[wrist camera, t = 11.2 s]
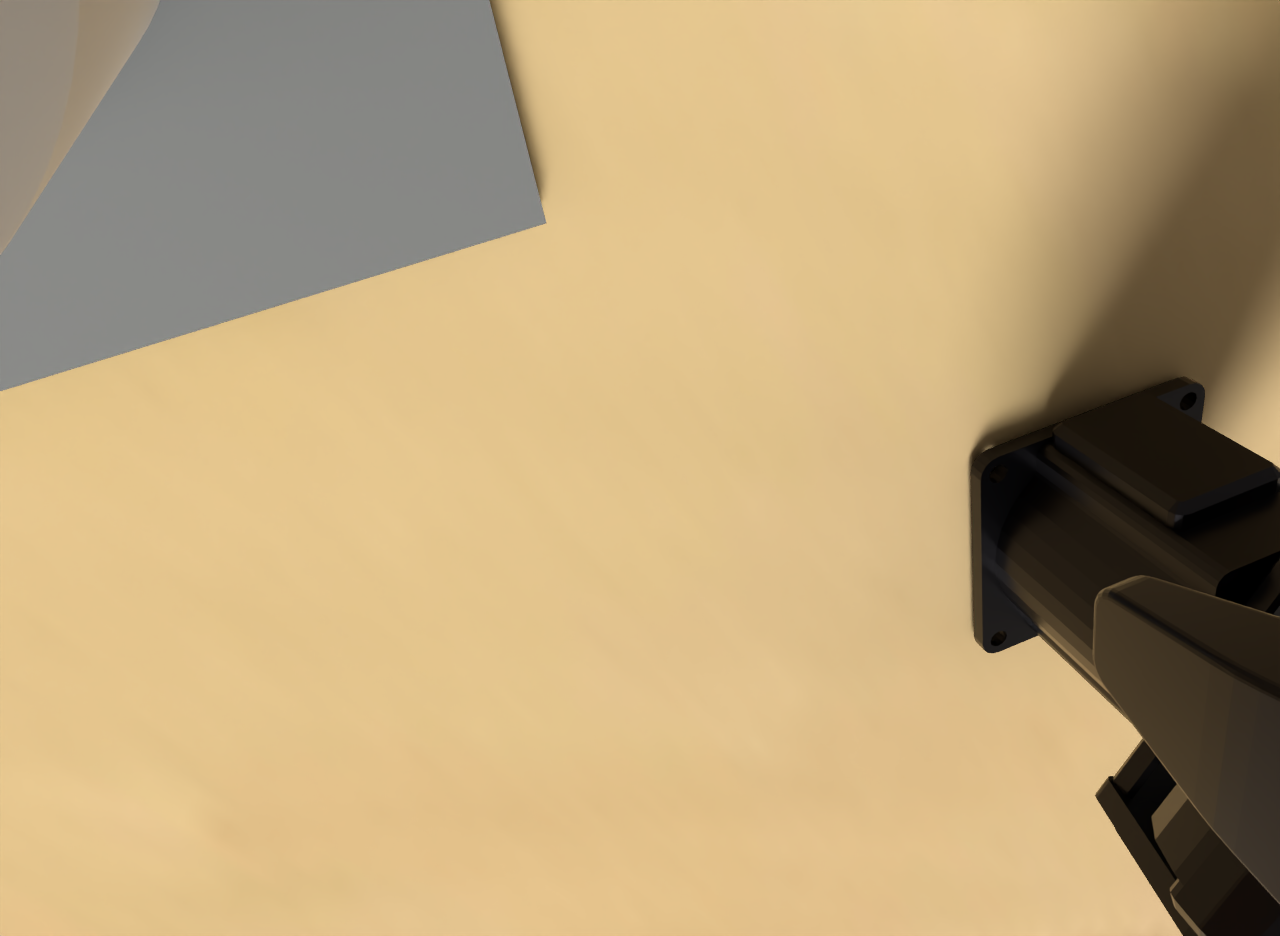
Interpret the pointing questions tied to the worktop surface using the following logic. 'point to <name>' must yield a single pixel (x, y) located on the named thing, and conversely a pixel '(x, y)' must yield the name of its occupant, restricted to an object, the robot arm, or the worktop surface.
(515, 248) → the worktop surface
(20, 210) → the beverage can
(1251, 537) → the robot arm
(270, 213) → the slate mat
